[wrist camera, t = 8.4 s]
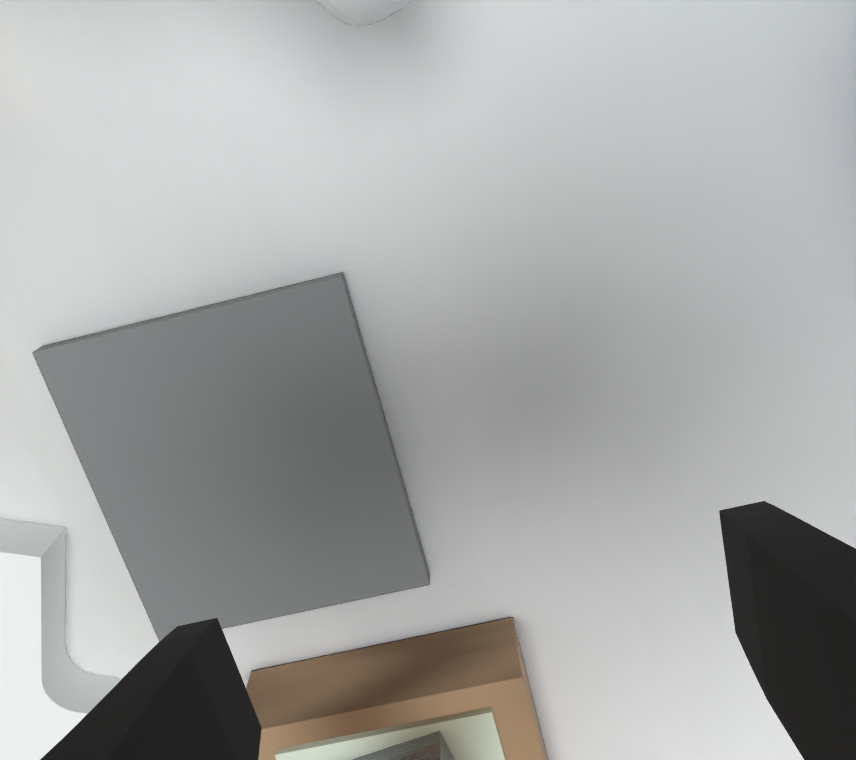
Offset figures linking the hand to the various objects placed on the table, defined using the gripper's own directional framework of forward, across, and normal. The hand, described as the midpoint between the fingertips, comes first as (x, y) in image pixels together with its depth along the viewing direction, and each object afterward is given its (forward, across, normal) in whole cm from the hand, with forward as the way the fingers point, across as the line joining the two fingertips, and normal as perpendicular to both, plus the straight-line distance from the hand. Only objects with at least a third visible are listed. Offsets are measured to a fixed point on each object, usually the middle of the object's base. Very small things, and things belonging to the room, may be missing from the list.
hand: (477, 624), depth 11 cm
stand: (+10, +4, +12) cm, 16 cm away
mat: (+10, +6, +1) cm, 12 cm away
